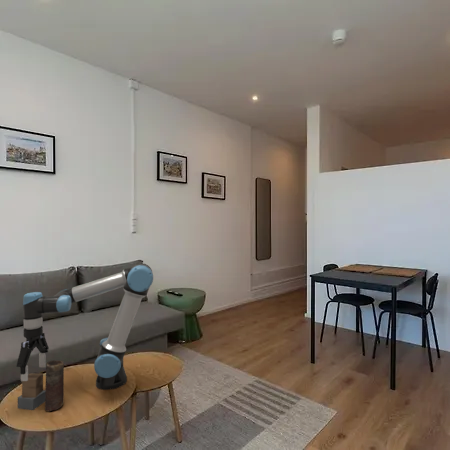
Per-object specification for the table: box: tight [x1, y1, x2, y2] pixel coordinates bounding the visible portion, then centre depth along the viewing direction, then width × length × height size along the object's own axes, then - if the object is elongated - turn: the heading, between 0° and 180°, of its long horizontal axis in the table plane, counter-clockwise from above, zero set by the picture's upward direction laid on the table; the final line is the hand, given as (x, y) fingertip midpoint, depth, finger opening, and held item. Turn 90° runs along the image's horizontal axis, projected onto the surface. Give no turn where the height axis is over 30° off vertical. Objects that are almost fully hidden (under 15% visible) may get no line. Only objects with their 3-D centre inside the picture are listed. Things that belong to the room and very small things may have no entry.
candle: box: [44, 359, 65, 412], centre depth 144 cm, size 8×7×20 cm
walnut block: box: [21, 372, 44, 398], centre depth 146 cm, size 6×6×8 cm
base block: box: [17, 389, 46, 411], centre depth 147 cm, size 8×8×5 cm
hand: (33, 373), depth 147 cm, fingers open, 13 cm apart
